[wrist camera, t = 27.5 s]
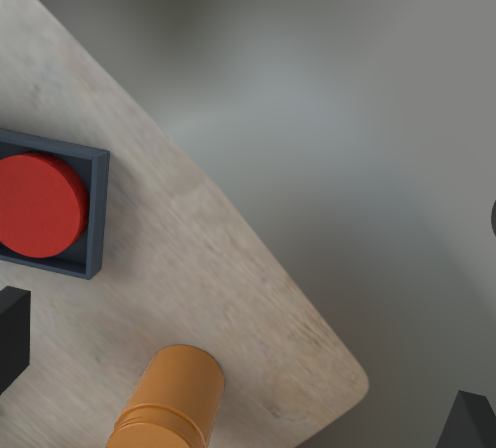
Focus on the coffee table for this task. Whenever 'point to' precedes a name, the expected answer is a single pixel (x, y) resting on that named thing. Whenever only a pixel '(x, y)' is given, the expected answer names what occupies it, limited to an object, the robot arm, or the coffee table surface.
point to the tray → (95, 179)
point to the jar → (172, 402)
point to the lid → (41, 204)
